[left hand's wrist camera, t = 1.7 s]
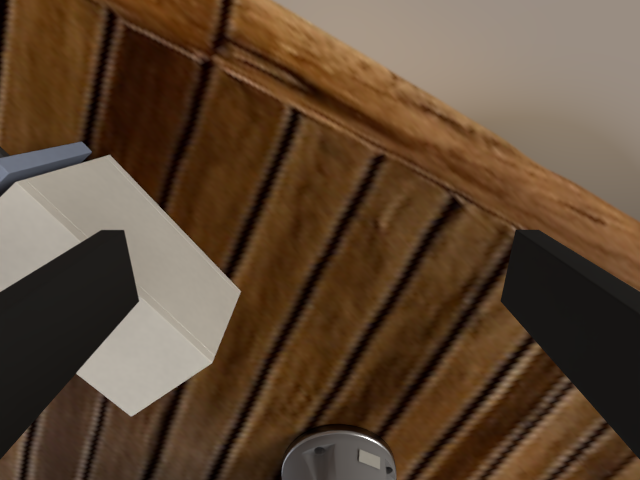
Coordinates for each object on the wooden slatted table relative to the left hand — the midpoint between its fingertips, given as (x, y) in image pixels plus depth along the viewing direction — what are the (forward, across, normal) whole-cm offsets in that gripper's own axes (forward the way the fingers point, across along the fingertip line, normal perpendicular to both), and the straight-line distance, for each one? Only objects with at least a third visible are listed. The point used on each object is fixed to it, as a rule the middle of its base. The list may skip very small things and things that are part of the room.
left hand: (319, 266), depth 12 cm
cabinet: (+24, +18, +10) cm, 31 cm away
